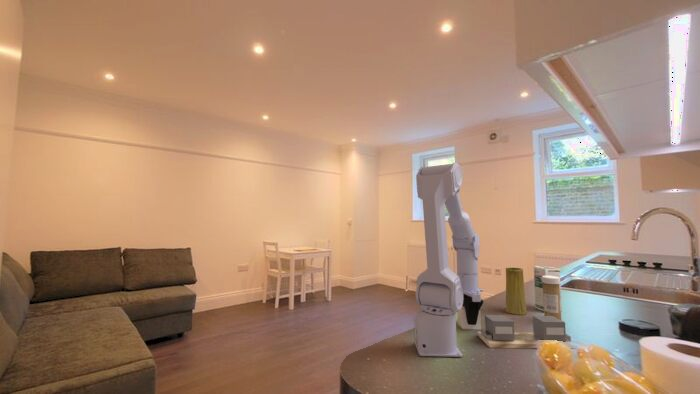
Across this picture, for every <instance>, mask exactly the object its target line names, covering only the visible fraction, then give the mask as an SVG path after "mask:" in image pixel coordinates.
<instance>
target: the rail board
mask: <svg viewBox="0 0 700 394" xmlns="http://www.w3.org/2000/svg"><path fill="white" fill-rule="evenodd" d="M484 320H485V321H484V322H485V323H484V325H485V329H481V330H480V331H477V336H478V337H479V338H480V340H481V341H483V343H485V344H486V346H488V348H491V349H492V348H493V349H496V348H497V349H499V348H500V349H530V348H536V342H537V341H538V340H557V341H563V342H569V343H574V342H572V339H571V336H570V335H568V334H567V333H566V322H565V321H564V320H562V319H561V320H560V319H558V318H556V317H554V316H544V315H532V328H533V329H532V331H533V332H525V331H524V332H523V331H522V332H520V331H515V321H514V320H512V319H511V318H510V317H508V316H507V315H505V314H504V315H503V314H495V315H494V314H489V315H488V314H485V315H484Z"/></svg>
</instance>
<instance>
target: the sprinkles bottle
mask: <svg viewBox="0 0 700 394" xmlns="http://www.w3.org/2000/svg"><path fill="white" fill-rule="evenodd" d="M560 281H561V278H560V279H559V277H556V276H542V284H543V304H544V311H543V314H544V315H543V316H554V317H556V318H558V319H560V320H562V312H561V303H562V301H561V302H560V289H559V284H560Z"/></svg>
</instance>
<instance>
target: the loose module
mask: <svg viewBox="0 0 700 394" xmlns="http://www.w3.org/2000/svg"><path fill="white" fill-rule="evenodd" d="M481 315H482V314H481V310H480V311H479V314H478V319H477V323H476V325H469V324H468V322H467V318H466V312H465V308H464V306H462V308H461V310H459V312H457V325H458V326H459V327H460V329H461V330H480V331H481V330H482V321H481V320H482V319H481V317H482V316H481Z"/></svg>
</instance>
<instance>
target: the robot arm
mask: <svg viewBox="0 0 700 394" xmlns="http://www.w3.org/2000/svg"><path fill="white" fill-rule="evenodd" d="M461 167H462V166H461V165H459V163H458V162H453V163H448V164H440V165H439V164H438V165H432V166H421V167H420V168H419V169H418V171H417V172H416V175H415V176H416V177H415V179H416V192H417V198H418V199H420V200H422V209H423V210H422V211H423V213H422V215H423V225H424V237H425V238H424V239H425V254H426V269H425V270H423V271H422V272H421V273H419V274H418V276H417V277H416V288H415V299H416V302H417V305H418V306H419V307H420V310H415V311H414V317H413V318H414V320H413V321H414V336H413V337H414V345H415V347H416V350H417V352H418V355H419V356H420V357H445V358H446V357H447V358H448V357H452V358H453V357H454V358H455V357H457V358H460V357H461V358H462V357H463V353H462V352H461V350H460V349H459V347H458V346H457V345H458V344H457V316H456V315H457V314H458V312H459V310H461V308H462V306H464V308H465V312H466V318H467V322H468V324H469V325H476V323H477V319H478V314H479V311H480V312H481V307H482V306H483V304H484V300H483V299H481V297H482V295H481V294H480V293H483V292H484V289H483V288H481V287H479V285H480V284H479V265H478V263H479V262H478V261H479V260H478V258H479V257H480V247H481V238H480V235H479V234H478V233H477V232H475V231H474V227H473V224H472V222H471V218H470V216H469V213H468V212H466V211H464V210H463V204H462V200H461V197H460V191H461V188H462V183H463V179H464V178H463V170H462V168H461ZM446 211H447V212H448V214H449V216H448V218H447V222H448V225H449V229H450V230H451V233H452V235H451V239H452V247H453V250H454V251H456V252H455V254H456V273H455V272H454V271H452V269H451V268H450V267H449V264H450V262H449V249H448V237H447V223H446Z"/></svg>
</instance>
